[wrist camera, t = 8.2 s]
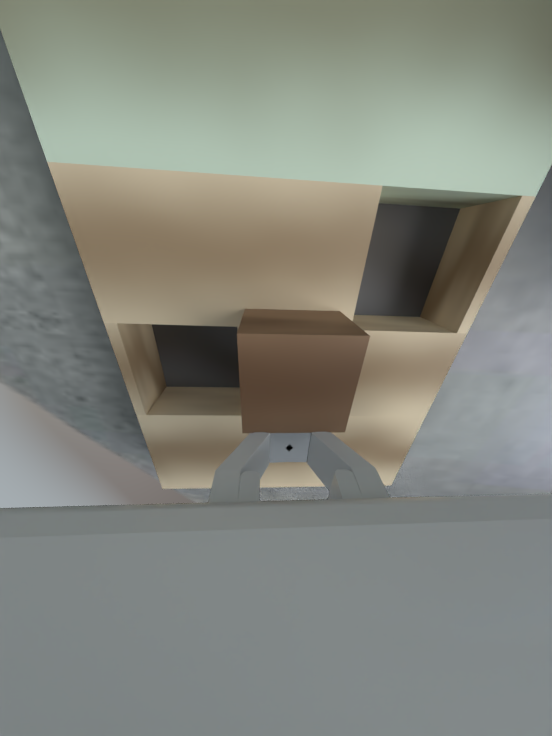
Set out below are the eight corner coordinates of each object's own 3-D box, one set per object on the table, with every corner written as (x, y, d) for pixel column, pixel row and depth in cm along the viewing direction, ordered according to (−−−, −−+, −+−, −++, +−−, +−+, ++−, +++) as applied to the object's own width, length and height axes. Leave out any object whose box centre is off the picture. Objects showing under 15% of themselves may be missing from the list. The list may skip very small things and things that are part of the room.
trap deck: (372, 451, 18) (412, 524, 13) (178, 452, 17) (144, 531, 12) (560, -37, 7) (1232, -690, 2) (32, -113, 6) (-929, -1609, 1)
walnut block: (325, 388, 11) (345, 432, 8) (247, 388, 11) (242, 433, 8) (339, 311, 9) (370, 335, 6) (245, 308, 9) (236, 333, 6)
